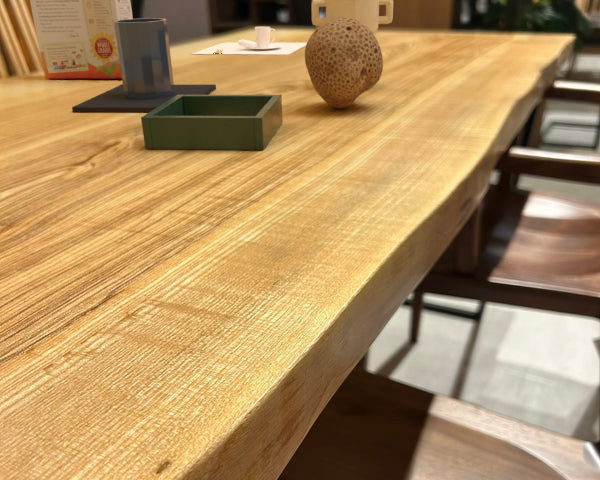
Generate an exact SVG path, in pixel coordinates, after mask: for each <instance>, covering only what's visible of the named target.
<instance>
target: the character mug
mask: <svg viewBox="0 0 600 480" xmlns="http://www.w3.org/2000/svg"><path fill="white" fill-rule="evenodd" d="M380 6H385V15H380ZM320 7H321V8H322V7H325V17H320ZM338 17H348V18H352V19H355V20H357V21H359V22H360V23H362V24H363V25H364V26H366V27H367V28H368V29H369V30H371V31H372V33H373V34H374V35H376V34H377V32H378V29H379V25H389V24H391V23H392V22H393V20H394V19H393V18H394V0H311V23H312V26H316V27H319V26H320V25H322V24H324V23H326V22H330V21H332V20H334V19H336V18H338Z"/></svg>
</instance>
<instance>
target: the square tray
mask: <svg viewBox="0 0 600 480" xmlns="http://www.w3.org/2000/svg"><path fill="white" fill-rule="evenodd" d="M282 97H283V96H282V94H208V95H176V96H175V97H173V98H172V99H170V100H168V101H167V102H165V103H164V104H162V105H160V106H159V107H157V108H156V109H154V110H152V111H151V112H147V113H146V114H143V116H141V117H140V118H141V120H140V121H141V128H142V135H143V141H144V148H145V150H198V151H199V150H203V151H205V150H207V151H208V150H209V151H211V150H212V151H265V149H266V147H267V146H268V144H269V143H270V142H271V140H272V139H273V137H274V136H275V134H276V133H277V131H278V130H279V128H280V127H281V126H282V124H283V98H282Z"/></svg>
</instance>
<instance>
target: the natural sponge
mask: <svg viewBox="0 0 600 480" xmlns="http://www.w3.org/2000/svg"><path fill="white" fill-rule="evenodd" d="M306 43H307V44H306V46H305V47H304V64H305V67H306V69H307V72H308V76H309V78H310V82H311V85H312V87H313V88H314V90H315V91H316V93H317V94H318V95H319V97H320V98H321V99H322V100H323V101H324V102H325V103H326V104H327V105H329V106H331V107H332V108H334V109H338V110H342V109H346V108H347V107H349V106H351V105H352V104H353V103H354V102H355V101H356V99H357V98H359V96H361V95H362V94H364V93H365V92H367V91H369V90H370V89H372V88H373V87H374V86H375V85H376V84H377V83H378V82H379V81H380V79H381V76H382V73H383V71H384V58H383V52H382V49H381V46H380V44H379V42H378V39H377V38H376V36H375V34H373V33H372V31H371V30H369V29H368V28H367V27H366V26H364V25H363V24H362V23H360V22H359V21H357V20H355V19H352V18H348V17H338V18H336V19H334V20H332V21H330V22H326V23H324V24H322V25H320V26H317V28H316V29H315V30H314V31H313V32H312V34H311V35H310V37H309V38H308V40H307V42H306Z"/></svg>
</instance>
